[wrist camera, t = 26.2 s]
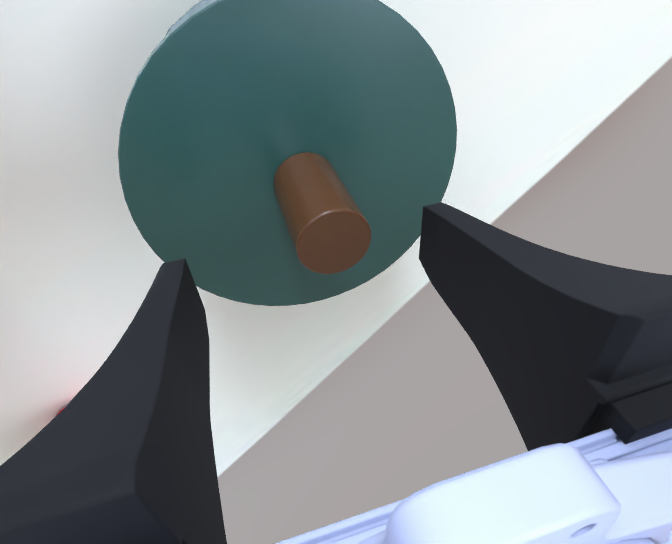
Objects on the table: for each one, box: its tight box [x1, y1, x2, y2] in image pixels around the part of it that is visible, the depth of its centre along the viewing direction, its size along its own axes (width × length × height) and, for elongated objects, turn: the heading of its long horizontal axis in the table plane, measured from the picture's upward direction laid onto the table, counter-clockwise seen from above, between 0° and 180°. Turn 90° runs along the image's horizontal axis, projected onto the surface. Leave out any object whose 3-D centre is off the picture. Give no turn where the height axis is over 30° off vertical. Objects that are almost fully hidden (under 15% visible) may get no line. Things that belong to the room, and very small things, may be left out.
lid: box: [118, 0, 457, 306], centre depth 15 cm, size 13×13×5 cm
